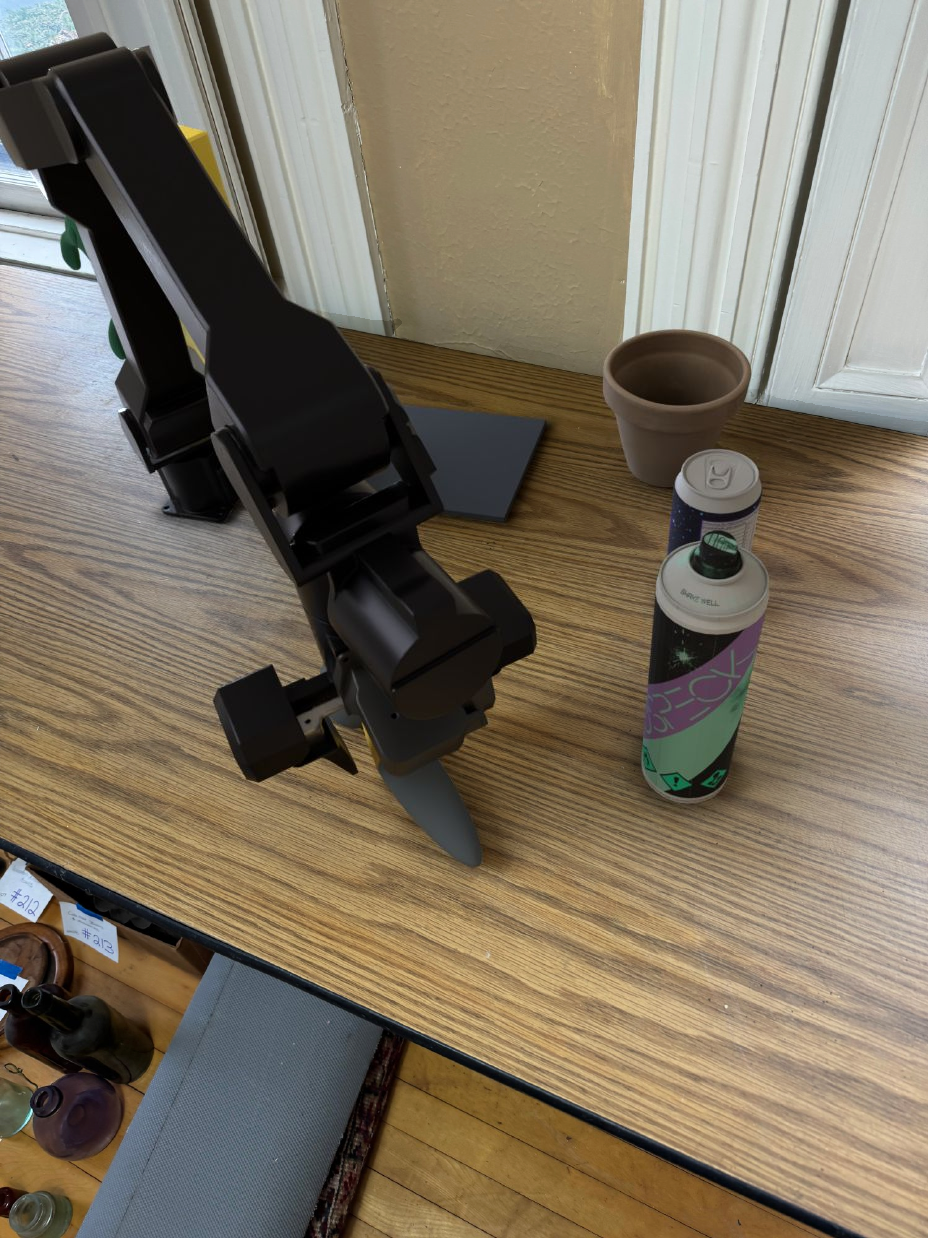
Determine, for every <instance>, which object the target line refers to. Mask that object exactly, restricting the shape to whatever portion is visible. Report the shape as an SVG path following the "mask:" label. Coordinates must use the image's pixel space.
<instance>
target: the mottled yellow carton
mask: <svg viewBox="0 0 928 1238" xmlns="http://www.w3.org/2000/svg"><path fill="white" fill-rule="evenodd" d="M178 126H179V127H180V129H181V131H182V132H183V134H184V136H185V137H186V139H187V140H188V142H189V144H190V145H191V147H192V149H193V150H194V152H195V153H196V155H197V157H198V158H199V160H200V161H201V163H202V165H203V166H204V168H205V170H206V171H207V173H208V174H209V176H210V178H211V179H212V181H213V183H214V184H215V186H216V187H217V189H218V191H219V192H220V194H221V196H222V197H223V199H224V200H225V202H226V204H227V205H228V207H229V208H230V210H231V212H232V213H233V210H232V208H231V204H230V200H229V198H228V194H227V190H226V188H225V185H224V181H223V178H222V175H221V173H220V172H221V171H220V169H219V165H218V162H217V159H216V155H215V152H214V149H213V146H212V143H211V140H210V136H209V133H208V132H207V131H205V130H202V129H199V128H194V127H191V126H186V125H181V124H178ZM59 246H60V253H61V257H62V259H63V261H64V262H65V264H66V265H67V266H68V267H69V268H70V269H71V270H72V271H80V269H81V268H82V260H81V254H80V251H81V253H83V254H84V255H85V256H86V258H87V259H88V260H89V257H88V255H87V252H86V250H85V247H84V244H83V242H82V239H81V237H80V234H79V231H78V229H77V226H76V224H75V222H74V221H73V220H71V219H70V218H68V217H67V216H65V215H64V231H63V232H62V233H61V235H60V238H59ZM179 319H180V318H179ZM180 322H181V326H182V329H183V333H184V337H185V340H186V344H187V345H188V346H190V347H192V348H193V349H195V350H196V352H197V353H198V355H199V356H200V358H201V359H202V361H203V362H204V364H205V360H204V358H203V357H202V355H201V353H200V351H199V350H198V348H197V346H196V345H195V343H194V341H193V340H192V338H191V336H190V335H189V333H188V331H187V330H186V328H185V326H184V325H183V323H182V321H181V320H180ZM107 337H108V343H109V346H110V348H111V351H112V352H113V354H114V355H115V356H116V357H117V358H118V359H119V360H120V361H125V359H126V354H125V351H124V349H123V346H122V344H121V341H120V338H119V336H118V333H117V331H116V328H115V325H114V323H113V320H112V318H111V317H110V319H109V323H108V331H107Z"/></svg>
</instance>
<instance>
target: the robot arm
mask: <svg viewBox="0 0 928 1238" xmlns="http://www.w3.org/2000/svg"><path fill="white" fill-rule="evenodd" d="M178 123H179V120H178V118H177V115H176V111H175V109H174V107H173V104H172V101H171V99H170V97H169V93H168V91H167V88H166V86H165V84H164V80H163V78H162V74H161V73H160V70H159V67H158V65H157V62H156V60H155V57H154V53H153V52H152V48H151V46H150V44H148V45H144V46H141V47H137V48H133V49H129V48H128V47H127V46H125V45H123V46H120V47H118V46H117V44H116V43H115V41H114V40H113V39H112V37H111V36H110V35H109V34H108V33H107V32H105V31H99V32H95V33H92V34H88V35H85V36H81V37H78V38H77V37H76V38H74V39H71V40H67V41H64V42H60V43H56V44H53V45H50V46H46V47H42V48H38V49H35V50H31V51H28V52H24V53H22V54H17V55H14V56H11V57H6V58H4V59H0V143H1V144H2V146H3V147H4V150H5V151H6V153H7V155H8V156H9V158H10V160H11V162H12V163H13V165H14V166H15V167H16V168H17V169H20V170H22V171H26V172H29V174H30V175H31V177H32V178H33V180H34V182H35V183H36V184H37V185H36V186H38V188H39V189H40V191H41V192H42V194H43V195H44V197H45V199H46V200H47V202H48V203H49V205H50V207H51V208H53V209H54V210H56V212H58V213H60V214H62V215H63V216H64V217H65V216H67V217H68V218H70V219H71V220H73V221H74V222H75V224H76V226H77V229H78V231H79V234H80V237H81V239H82V242H83V244H84V247H85V250H86V252H87V255H88V257H89V259H88V261H89V263H90V266H91V267H92V271H93V273H94V275H95V278H96V280H97V283H98V286H99V289H100V291H101V294H102V297H103V299H104V302H105V304H106V307H107V309H108V312H109V315H110V319H111V318H112V320H113V323H114V325H115V328H116V331H117V333H118V336H119V338H120V341H121V344H122V346H123V349H124V351H125V354H126V359H124V360H123V363H122V365H121V368H120V370H119V372H118V374H117V376H116V379H115V381H114V386H115V389H116V391H117V395H118V396H119V399H120V402H121V405H122V407H123V408H121V409H119V410H117V415H118V418H119V423H120V427H121V430H122V432H123V433H124V436H125V437H126V439H127V441H128V443H129V445H130V447H131V449H132V451H133V452H134V454H135V455H136V457H137V458H138V459H139V461H140V462H141V464H142V466H143V467H144V468H145V470H146V471H147V472H148V474H149V475H152V474H154V473H156V472H157V473H158V476H159V477H160V480H161V482H162V484H163V486H164V488H165V490H166V493H167V494H168V496H169V498H168V499H167V500H166V502H165V503H164V505H163V506H162V507H161V512H162V514H163V515H165V516H170V517H178V518H185V519H190V520H198V521H203V522H209V523H217V524H221V523H223V522H225V521H226V520H227V518H228V517H229V515H230V514H231V513H232V511H233V510H234V509H235V507H236V506H237V504H238V503H239V502H240V501H241V502H242V504H243V506H244V508H245V510H246V512H247V513H248V514H249V517H250V518H251V520H252V522H253V523H254V525H255V527H256V528H257V530H258V532H259V534H260V535H261V536H262V537H261V538H263V540H264V542H265V543H266V545H267V547H268V548H269V550H270V552H271V554H273V557H274V559H275V560H276V562H277V564H278V565H279V567H280V568H281V569H282V571H283V572H284V573H285V575H286V576H287V577H288V578H289V580H290V581H291V582H292V583H293V585H294V587H295V590H296V592H297V595H298V598H299V601H300V604H301V606H302V609H303V611H304V615H305V616H306V619H307V622H308V625H309V627H310V630H311V633H312V636H313V638H314V640H315V644H316V646H317V649H318V651H319V654H320V657H321V660H322V663H323V662H324V665H325V668H326V670H327V671H326V672H324V673H321V674H320V673H318V674H317V675H314V676H312V677H310V678H309V679H306V678H305V677H302V678H299V679H297V680H295V681H293V682H290V683H289V684H286V685H284V686H283V684H282V682H281V680H280V677H279V675H278V673H277V671H276V669H275V667H274V665H273V663H270V664H268V665H265V666H263V667H261V668H259V669H256V670H254V671H252V672H250V673H247V674H244V675H243V676H240V677H238V678H236V679H234V680H231V681H229V682H226V683H225V684H222V685H220V686H218V688H217V689H216V692H215V694H214V696H213V700H212V703H213V705H214V709H215V711H216V714H217V716H218V719H219V721H220V722H219V723H220V724H221V727H222V730H223V733H224V735H225V737H226V741H227V743H228V745H229V748H230V752H231V753H232V755H233V757H234V760H235V761H236V764H237V765H238V768H239V769H240V771H241V773H242V774H243V776H244V778H245V780H246V781H251V782H254V783H257V784H259V783H262V782H264V781H266V780H268V779H270V778H272V777H275V776H277V775H279V774H280V773H283V772H285V771H287V770H289V769H291V768H296V769H299V768H304V767H306V766H307V765H309V764H311V763H314V762H315V761H318V760H320V759H324V760H326V761H328V762H330V763H332V764H334V765H335V766H337V767H338V768H340V769H341V770H343V771H345V772H347V773H348V774H350V775H352V776H356V775H357V774H359V769H358V767H357V764H356V761H355V760H354V758H353V756H352V754H351V752H350V750H349V748H348V746H347V744H346V742H345V740H344V739H343V737H342V736H341V734H340V733H339V730H338V729H337V728H336V726H335V724H334V723H333V720H332V719H331V718H330V717H329V715H331V714H334V713H336V712H338V711H340V710H342V709H345V711H346V713H347V715H348V716H350V715H352V714H354V715H360V718H361V721H362V723H363V725H364V727H365V729H366V731H367V733H368V736H369V738H370V740H371V742H372V744H373V746H374V748H375V750H376V752H377V754H378V756H379V759H380V761H381V763H382V765H383V767H384V769H385V770H386V771H387V772H388V773H389V774H391V775H393V776H397V777H402V776H406V775H408V774H411V773H413V772H415V771H416V770H417V769H419V768H421V767H423V766H425V765H427V764H429V763H431V762H433V761H435V760H437V759H439V760H440V759H441V758H444V757H447V756H450V755H452V754H453V753H456V752H457V751H459V750H460V749H461V748H462V746H463V745H464V742H465V739H466V736H468V735H470V734H472V733H474V732H476V731H478V730H480V729H482V728H484V727H486V726H488V725H489V720H488V718H487V716H486V713H485V712H487V711H489V710H491V709H493V708H494V706H495V703H496V699H497V697H496V692H495V687H494V682H493V678H494V677H495V676H498V674H500V673H501V672H502V669H504V668H505V667H508V666H510V665H511V664H514V663H516V662H518V661H520V660H523V659H524V658H527V657H529V656H531V655H533V654H535V651H536V648H537V645H538V635H537V626H536V623H535V621H534V619H533V616H532V614H531V613H530V611H529V610H528V608H527V607H526V606H525V604H523V602H522V601H521V599H520V598H519V597H518V596H517V594H516V593H515V592H514V591H513V589H512V588H511V586H510V585H509V584H508V583H507V581H506V579H504V578H503V576H502V575H501V574H500V573H498V572H496V571H494V570H492V569H490V568H487V569H483V570H481V571H479V572H477V573H474V574H472V575H470V576H468V577H465V578H463V579H461V580H458V581H456V580H455V579H453V577H452V576H451V575H450V574H449V573H448V572H447V571H446V570H445V569H444V568H443V567H442V566H441V565H440V564H439V563H438V562H437V561H436V560H435V559H434V558H433V557H432V556H431V555H430V554H429V553H428V551H426V549H424V547H423V546H422V543H421V540H420V536H419V535H420V534H419V531H418V526H420V525H422V524H423V523H425V522H428V521H430V520H431V519H433V518H435V517H436V516H437V517H438V515H442V514H441V513H443V512H444V505H443V503H442V501H441V499H440V497H439V495H438V492H437V490H436V488H435V486H434V484H433V482H432V480H431V477H430V476H431V475H432V474H433V473H434V472H435V471H436V470H437V468H436V467H435V465H434V463H433V461H432V459H431V457H430V456H429V454H428V452H427V450H426V448H425V446H424V445H423V443H422V441H421V439H420V437H419V435H418V434H417V432H416V430H415V428H414V426H413V424H412V423H411V421H410V419H409V417H408V415H407V413H406V412H405V410H404V408H403V406H402V405H403V404H402V402H401V401H400V398H399V396H398V395H397V393H396V391H395V390H394V387H392V386H391V385H390V384H389V383H387V382H386V381H385V380H384V379H383V376H382V374H381V372H380V371H379V370H376V369H375V368H374V367H373V366H372V365H370V364H364V362H363V361H362V360H361V358H360V357H359V355H358V353H357V352H356V351H355V350H354V348H353V347H352V345H351V344H350V342H349V341H348V340H347V338H346V337H345V336H344V335H343V333H342V332H341V330H340V329H339V327H338V326H337V325H336V324H335V323H334V321H332V320H330V319H328V318H327V317H325V316H323V315H321V314H318V313H317V312H314V311H312V310H310V309H308V308H306V307H304V306H302V305H300V304H299V303H296V302H294V301H292V300H290V299H288V298H287V297H286V294H284V292H283V291H282V289H281V287H280V286H279V285H278V284H277V282H276V281H275V280H274V277H272V274H271V272H269V270H268V268H267V267H266V265H265V264H264V262H263V260H262V259H261V257H260V256H259V254H258V252H257V251H256V249H255V247H254V246H253V244H252V242H251V241H250V239H249V238H248V236H247V235H246V233H245V231H244V230H243V228H242V226H241V224H240V223H239V221H238V220H237V218H236V217H235V215H234V214H233V211H232V212H231V210H232V209H231V210H230V208H229V207H228V205H227V204H226V202H225V200H224V199H223V197H222V196H221V194H220V192H219V191H218V189H217V187H216V186H215V184H214V183H213V181H212V179H211V178H210V176H209V174H208V173H207V171H206V170H205V168H204V166H203V165H202V163H201V161H200V160H199V158H198V157H197V155H196V153H195V152H194V150H193V149H192V147H191V145H190V144H189V142H188V140H187V139H186V137H185V136H184V134H183V132H182V131H181V129H180V127H179V126H178V125H179V124H178ZM179 318H180V319H179ZM180 320H181V321H182V323H183V325H184V326H185V328H186V330H187V331H188V333H189V335H190V336H191V338H192V340H193V341H194V343H195V345H196V346H197V348H198V350H199V351H200V353H201V355H202V357H203V358H204V360H205V364H204V362H203V361H202V359H201V358H200V356H199V355H198V353H197V352H196V350H195V349H193V348H192V347H190V346H188V345H187V344H186V340H185V337H184V333H183V329H182V326H181V322H180ZM390 461H391V463H392V464H393V466H394V467H395V469H396V471H397V472H398V474H399V476H400V477H401V479H402V481H398V482H396V483H394V484H392V485H390V486H388V487H386V488H384V489H382V490H380V491H378V490H376V489H375V488H374V487H373V486H372V485H371V484H370V483H368V482H367V481H365V479H367V478H369V477H371V476H374V475H376V474H378V473H380V472H382V471H384V470H386V469H387V467H388V466H389V465H390ZM273 509H274V512H273Z"/></svg>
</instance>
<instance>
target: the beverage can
mask: <svg viewBox="0 0 928 1238" xmlns="http://www.w3.org/2000/svg"><path fill="white" fill-rule="evenodd" d="M672 488H673V490H672V498H671V500H672V501H671V508H670V509H671V510H670V511H671V512H670V520H669V522H670V523H669V531H668V541H667V552H666V557H667V556H668V555H669V554H670V553H671V552H672V551H674V550H676V549H677V548H679V547H681V546H683V545H686V544H689V543H693V542H697V541H702V537H703V536H704V535H705V534H706V533H708V532H710V531H715V530H720V531H726V532H728V533H730V534H731V535H732V536H734V538H735V539H736V541H737V544H738V546H740V547H742V548H744V549H746V550H748V551H750V552H751V553H752V548H753V542H754V538H755V533H756V527H757V524H758V523H757V522H758V518H759V511H760V509H761V508H760V506H761V502H762V496H763V484H762V481H761V479H760V472H759V468H758V466H757V465H756V463H755V462H754V461H753V460H752V459H751V458H749V457H748V456H746V455H745V454H743V453H740V452H738V451H735V450H730V449H722V448H714V449H712V450H706V451H702V452H699V453H696V454H694V455H693V456H691V457H689V458H688V459H687V460H686V461H685V463H684V464H683V466H682V469H681V472H680V473H679V474H678V476H677V477H676V479H675V482H674V487H672Z"/></svg>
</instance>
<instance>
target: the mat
mask: <svg viewBox="0 0 928 1238" xmlns="http://www.w3.org/2000/svg"><path fill="white" fill-rule="evenodd" d="M402 406H403V408H404V410H405V412H406V413H407V415H408V417H409V419H410V421H411V423H412V424H413V426H414V428H415V430H416V432H417V434H418V435H419V437H420V439H421V441H422V443H423V445H424V446H425V448H426V450H427V452H428V454H429V456H430V457H431V459H432V461H433V463H434V465H435V467H436V468H437V470H436V471H435V472H434V473H433V474H432V475H431V476H430V477H431V480H432V482H433V484H434V486H435V488H436V490H437V492H438V495H439V497H440V499H441V501H442V503H443V505H444V512H443V513H441V514H440V515H444V516H445V515H446V516H453V517H460V518H467V519H474V520H481V521H487V522H488V521H489V522H495V523H503V524H505V523H506V521H507V519H508V516H509V515H510V512H511V509H512V507H513V504H514V502H515V500H516V497H517V495H518V493H519V490H520V488H521V486H522V484H523V481H524V479H525V476H526V474H527V472H528V469H529V467H530V465H531V463H532V461H533V458H534V456H535V453H536V451H537V448H538V446H539V444H540V441H541V438H542V437H543V434H544V432H545V429H546V427H547V423H548V422H547V419H544V418H537V417H535V418H534V417H525V416H516V415H506V414H498V413H497V414H496V413H495V414H494V413H487V412H476V411H466V410H457V409H449V408H439V407H428V406H427V407H426V406H416V405H410V404H409V405H408V404H402ZM365 481H367V482H368V483H370V484H371V485H372V486H373V487H374V488H375V489H376V490H378V491H380V490H382V489H384V488H386V487H388V486H390V485H392V484H394V483H396V482H398V481H402V479H401V477H400V476H399V474H398V472H397V471H396V469H395V467H394V466H393V464H392V463H391V461H390V465H389V466H388V467H387V469H386V470H384V471H382V472H380V473H378V474H376V475H374V476H371V477H369V478H367V479H365Z"/></svg>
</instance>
